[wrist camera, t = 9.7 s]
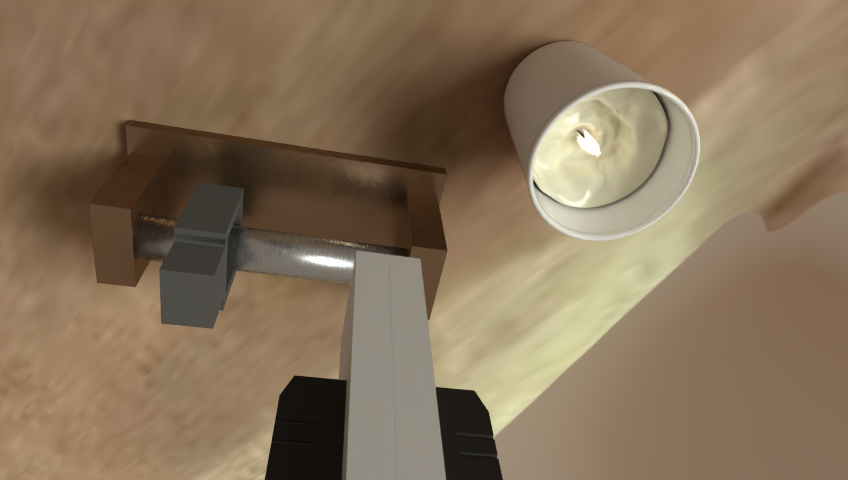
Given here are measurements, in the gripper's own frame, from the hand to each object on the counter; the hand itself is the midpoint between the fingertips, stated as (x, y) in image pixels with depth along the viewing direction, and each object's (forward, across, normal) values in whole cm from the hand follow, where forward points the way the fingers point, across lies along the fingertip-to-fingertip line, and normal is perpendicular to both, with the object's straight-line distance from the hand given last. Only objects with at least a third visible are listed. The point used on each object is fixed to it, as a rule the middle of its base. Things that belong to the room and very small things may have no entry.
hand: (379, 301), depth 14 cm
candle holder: (+31, +14, -3) cm, 34 cm away
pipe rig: (+30, -4, -15) cm, 34 cm away
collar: (+26, -9, -15) cm, 32 cm away
